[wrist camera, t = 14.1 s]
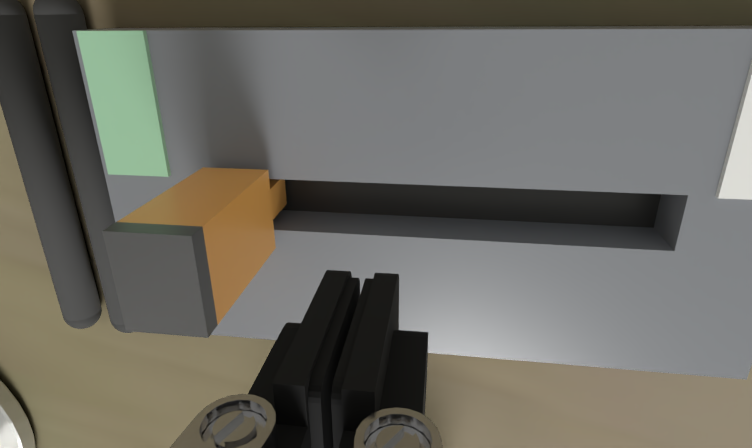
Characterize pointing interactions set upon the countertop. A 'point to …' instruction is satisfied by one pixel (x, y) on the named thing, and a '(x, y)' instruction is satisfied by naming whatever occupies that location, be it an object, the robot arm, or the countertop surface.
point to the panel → (467, 176)
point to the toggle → (193, 249)
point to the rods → (58, 153)
